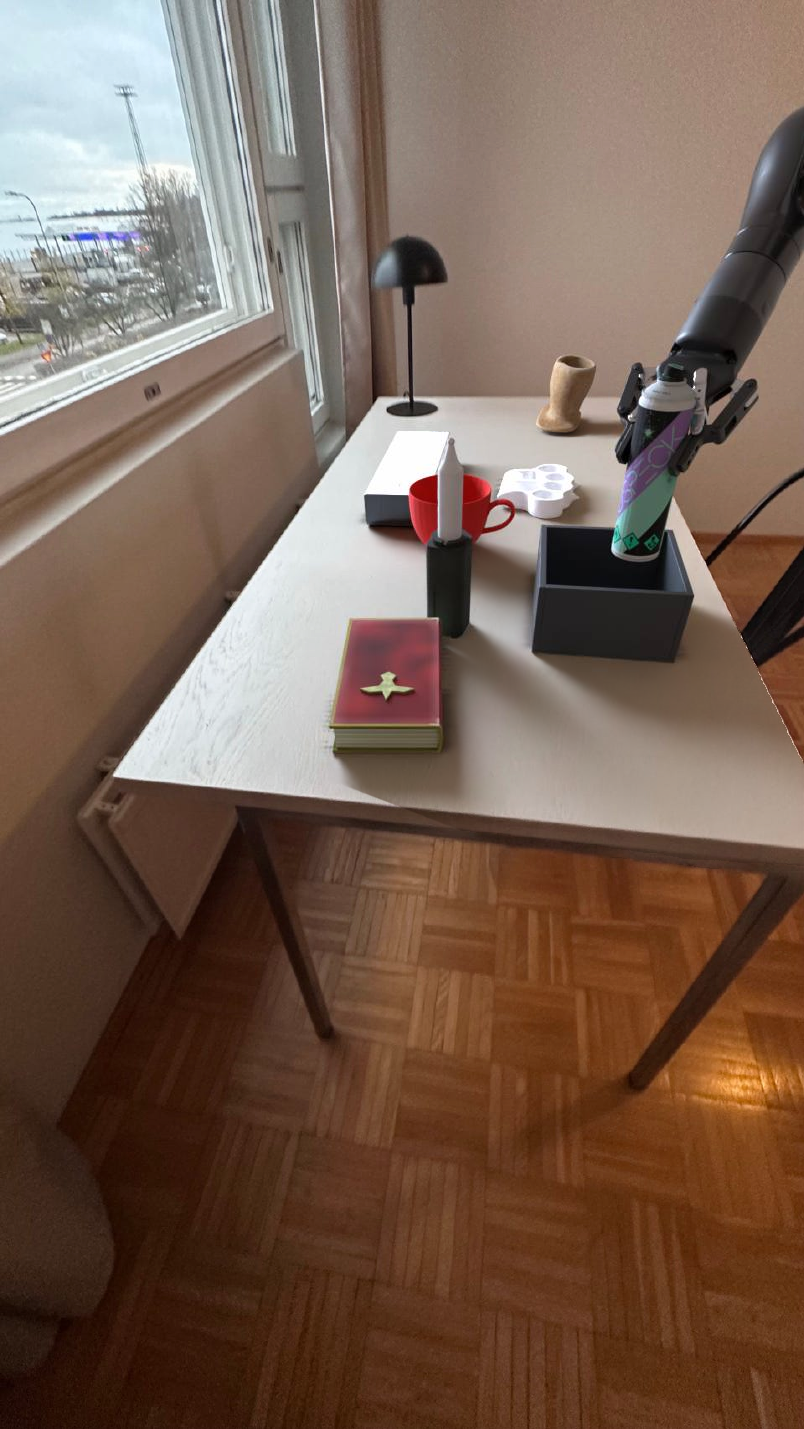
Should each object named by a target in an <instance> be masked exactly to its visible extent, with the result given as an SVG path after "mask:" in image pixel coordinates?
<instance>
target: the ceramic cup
mask: <svg viewBox="0 0 804 1429" xmlns="http://www.w3.org/2000/svg"><path fill="white" fill-rule="evenodd" d="M492 491H493V490H492V486H491V484H490V483H489V482H488V481H486V480H485V479H484V478H481V477H479V476H475V475H471V474H466V473H463V501H462V529H463V530H465V531H466V532H467V533H468V534H470V535H472V537H473V545H474V544H476V543H477V541H478V540H479V539H480V537H481V536H482V535H485V534H490V533H495V532H497V531H501V530H503V529H505V528H507V527H508V526H509V525H510V524H511V522H512V521H513V520H514V518H515V516H516V509H515V506H514V504H513V503H512V502H511V501H510V500H507V499H499V500H497V499H496V500H493V501H491V499H492ZM501 505H506V506H508V507H509V510H510V514H509V516H508V517H507V519H506V520H505V521H504V522H502V523H500V524H496V525H493V526H488V527H486V524H487V521H488V517H489V516H490V513H491V512H492V510H493V509H495V508H496V507H499V506H501ZM409 506H410V513H411V519H412V523H413V526H412V527H413V529H414V531H415V533H416V535H417V537H418V539H419V540H420V541H421V542H422V544H423V545H424V546H425V547H426V543H427V542H428V541H429V539H430V538H431V534H432V533H433V532H434V531H435V530H437V529H438V474H437V475H431V476H427V477H424V478H421V479H419V480H417V481H415V482H414V483H413V484H412V485H411V486H410V488H409Z"/></svg>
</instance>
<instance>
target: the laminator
mask: <svg viewBox="0 0 804 1429" xmlns="http://www.w3.org/2000/svg"><path fill="white" fill-rule="evenodd" d="M449 438H451V433H450V431H421V430H420V431H417V430H415V431H414V430H413V431H411V430H409V431H408V430H398V431H397V433H396V434H395V436H394V438H393V440H392V442H391V443H390V445H389V447H388V450H387V451H386V453H385V455H384V457H383V458H382V461H381V463H380V464H379V466H378V468H377V470H376V472H375V474H374V476H373V478H372V480H371V482H370V483H369V485H368V486H367V489H366V490H365V493H364V495H363V503H364V514H365V515H364V516H365V524H366V526H395V527H396V526H398V527H399V526H400V527H402V526H403V527H414V526H413V523H412V519H411V513H410V506H409V488H410V486H411V485H412V484H413V483H414V482H415V481H417V480H419V479H421V478H424V477H427V476H431V475H437V474H438V468H439V466H440V465H441V463H442V462H443V460H444V457H445V454H446V451H447V447H448V443H447V441H448V439H449Z"/></svg>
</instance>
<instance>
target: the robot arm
mask: <svg viewBox="0 0 804 1429" xmlns="http://www.w3.org/2000/svg"><path fill="white" fill-rule="evenodd" d="M750 180H751V181H750V183H749V189H748V192H747V197H746V199H745V204H744V208H743V211H742V215H741V218H740V222H739V226H738V229H737V231H736V233H735V235H734V237H733V239H732V241H731V242H730V244H729V246H728V248H727V250H726V251H725V253H724V255H723V257H722V259H721V260H720V262H719V264H718V265H717V267H716V269H715V271H714V272H713V273H712V274H711V275H710V277H709V279H708V280H707V282H706V283H705V285H704V286H703V288H702V290H701V291H700V294H699V296H698V297H697V298H696V300H695V302H694V303H693V306H692V308H691V310H690V312H689V314H688V316H687V318H686V319H685V321H684V323H683V325H682V326H681V329H680V330H679V332H678V334H677V335H676V337H675V339H674V341H673V343H672V346H671V349H670V351H669V353H668V355H667V356H666V357H665V359H663V360H662V361H661V362H660V363H659V364H658V365H657V366H656V367H655V366H654V367H653V366H651V367H649V366H648V367H644V366H643V363H641V362H639V361H638V362H635V363H633V364H632V365H631V366H630V369H629V373H628V376H627V379H626V381H625V384H624V387H623V389H622V392H621V395H620V399H619V400H618V404H617V406H616V413H617V415H618V416H619V418H620V422H621V424H622V426H624V427H625V428H624V429H623V431H622V433H621V434H620V436H619V438H618V440H617V442H616V444H615V446H614V453H615V457H616V460H617V462H618V464H621V465H624V466H627V463H628V457H629V452H630V447H631V441H632V436H633V431H634V426H635V420H636V415H637V410H638V404H639V399H640V397H641V396H642V390H643V389H644V388H646V387H649V386H650V385H651V384H652V383H654V382H655V381H656V382H657V378H659V377H661V376H662V374H664V371H665V367H666V365H667V364H670V363H676V364H681V365H682V366H683V367H684V370H683V375H684V376H685V377H684V378H686V379H687V381H686V384H688V385H689V386H690V387H691V388H692V389H694V390H695V391H696V392H697V395H696V397H695V400H696V403H695V408H694V412H693V416H692V420H691V424H690V428H689V433H688V434H686V435H685V437H684V438H683V440H682V441H681V443H680V445H679V447H678V449H677V450H676V452H675V454H674V456H673V457H672V459H671V461H670V463H669V465H668V470H669V473H670V476H674V477H679V476H680V475H681V473H683V474H684V473H686V472H687V471H688V470H689V468H690V467H691V465H692V464H693V461H694V460H695V457H696V456H697V454H698V452H699V451H700V449H701V448H702V447H703V446H704V445H706V444H712V443H713V444H714V445H717V446H719V445H722V444H724V442H725V441H726V440H727V439H728V438H729V437H730V436H731V434H732V433H733V432H734V430H735V429H736V428H737V427H738V425H739V424H741V422H742V420H743V419H745V417H746V415H747V414H748V413H749V412H750V411H751V409H752V408H753V407H754V406H755V404H756V403H757V402H758V400H759V396H760V395H759V389H758V388H759V387H758V380H757V379H756V378H749V379H746V380H745V381H744V380H741V379H738V378H737V377H738V374H739V373H740V372H741V370H742V368H743V367H744V365H745V363H746V361H747V360H748V358H749V356H750V354H751V352H752V350H753V349H754V347H755V345H756V343H757V342H758V340H759V338H760V336H761V334H763V331H764V330H765V328H766V326H767V324H768V322H769V320H770V319H771V317H772V315H773V313H774V312H775V310H776V307H777V305H778V302H779V299H780V297H781V295H782V293H783V291H784V289H785V288H786V286H787V284H788V282H789V280H790V279H791V276H792V275H793V273H794V271H795V269H796V267H797V266H798V265H799V262H800V261H801V259H802V257H803V255H804V105H802V106H800V107H798V108H796V109H795V110H793V111H792V112H790V113H789V114H788V115H786V117H785V118H784V119H783V120H782V121H780V123H779V124H778V125H777V126H776V127H775V129H774V130H773V131H772V133H771V135H770V136H769V138H768V139H767V141H766V142H765V144H764V146H763V148H762V150H761V152H760V154H759V156H758V158H757V161H756V164H755V168H754V170H753V173H752V177H751V179H750ZM656 382H655V383H656ZM728 395H729V399H730V400H729V402H727V403H726V405H725V406H724V408H723V409H722V410H721V411H720V412H719V414H718V415H717V416H716V417H715V419H714V420H713V421H712V422H711V424H709V423H710V413H711V407H712V406H713V405H714V404H716V403H717V402H720V401H721V400H723V399H724V398H725V397H727V396H728Z"/></svg>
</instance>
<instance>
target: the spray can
mask: <svg viewBox="0 0 804 1429" xmlns="http://www.w3.org/2000/svg"><path fill="white" fill-rule="evenodd" d="M683 370H684V367H683V366H682V365H681V364H676V363H670V364H667V365H666V367H665V371H664V374H662V376H661V377H659V378H657V382H653V383H651V384H650V385H649V387H646V388H644V389H643V390H642V395H641V397H640V399H639V404H638V410H637V415H636V420H635V426H634V431H633V436H632V441H631V447H630V452H629V457H628V463H627V464H626V468H625V473H624V475H625V476H624V480H623V485H622V490H621V494H620V495H621V496H620V501H619V506H618V511H617V515H616V521H615V526H614V527H615V532H614V537H613V542H612V552H613V554H614V555H616V556H617V557H619V558H621V559H624V560H628V561H634V562H644V561H650V560H653V559H655V558H656V557H657V556H658V555H659V552H660V547H661V543H662V539H663V535H664V531H665V529H666V526H667V522H668V518H669V514H670V511H671V507H672V506H671V505H672V503H673V502H672V501H673V497H674V493H675V489H676V485H677V482H678V477H679V476H678V477H674V476H670V473H669V470H668V465H669V463H670V461H671V459H672V457H673V456H674V454H675V452H676V450H677V449H678V447H679V445H680V443H681V441H682V440H683V438H684V437H685V435H686V434H688V435H689V433H690V425H691V420H692V416H693V412H694V408H695V403H696V400H695V397H696V395H697V392H696V391H695V390H694V389H692V388H691V387H690V386H689V385H688V384H686V381H687V379H686V378H684V377H685V376H684V375H683Z"/></svg>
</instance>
